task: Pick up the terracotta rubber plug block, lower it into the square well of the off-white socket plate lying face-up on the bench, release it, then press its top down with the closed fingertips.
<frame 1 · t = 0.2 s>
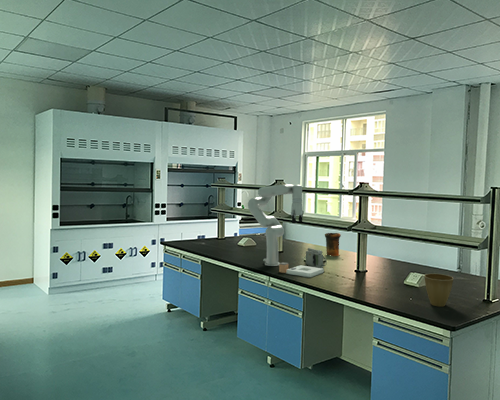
hand: (297, 222, 328), 36 cm above the worktop, tool pointing down, fingers open, 9 cm apart
socket plate: (305, 273, 314), on the worktop
vessel: (332, 255, 387), on the worktop
plug: (283, 271, 319), on the worktop
geiger counter: (316, 266, 338), on the worktop
plant pot: (438, 305, 236), on the worktop
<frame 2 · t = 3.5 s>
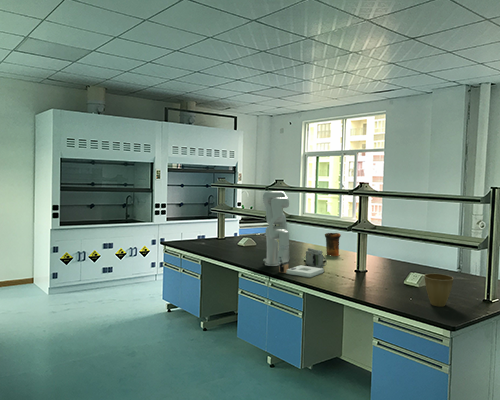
hand: (283, 270, 319), 1 cm above the worktop, tool pointing down, fingers closed on plug, 5 cm apart
plug: (283, 271, 319), on the worktop, touching gripper
everything else where it was.
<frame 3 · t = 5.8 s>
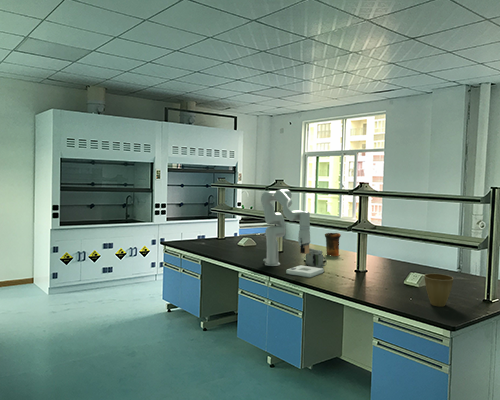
hand: (304, 252, 314), 16 cm above the worktop, tool pointing down, fingers closed on plug, 5 cm apart
plug: (304, 253, 314), point 15 cm above the worktop, touching gripper
everything else where it was.
when the fingers open (3 cm above the worktop, at t = 7.9 s): plug drops 2 cm, resting on socket plate.
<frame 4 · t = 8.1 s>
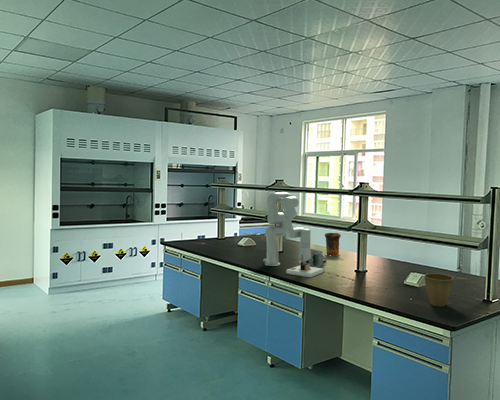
hand: (305, 268, 314), 3 cm above the worktop, tool pointing down, fingers open, 6 cm apart
plug: (305, 272, 315), point 1 cm above the worktop, touching socket plate
everything else where it was.
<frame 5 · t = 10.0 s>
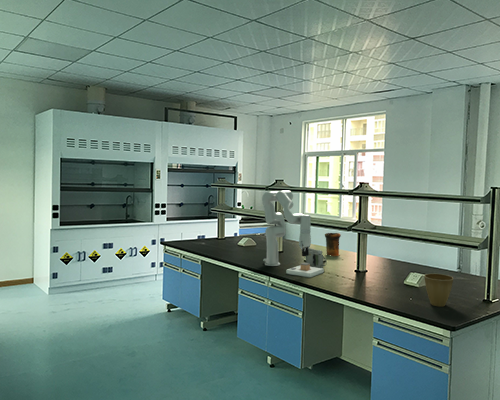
hand: (305, 255, 314), 13 cm above the worktop, tool pointing down, fingers open, 3 cm apart
nothing on the worktop moved.
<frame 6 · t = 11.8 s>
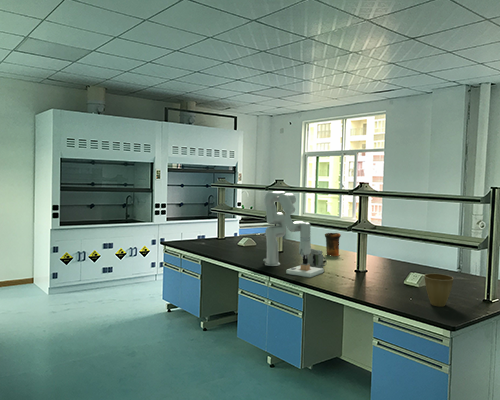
hand: (305, 263, 314), 7 cm above the worktop, tool pointing down, fingers closed
plug: (305, 272, 315), point 1 cm above the worktop, touching gripper, socket plate
everything else where it was.
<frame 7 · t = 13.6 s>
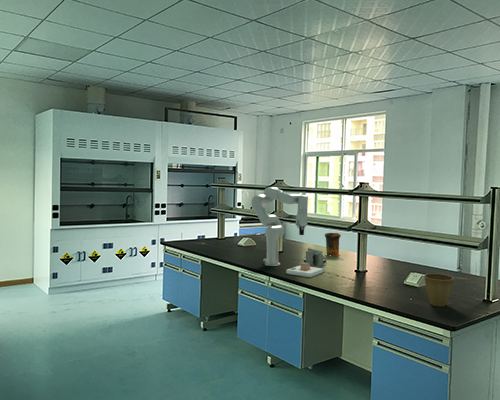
hand: (301, 234, 325), 27 cm above the worktop, tool pointing down, fingers closed
plug: (305, 272, 315), point 1 cm above the worktop, touching socket plate
everything else where it was.
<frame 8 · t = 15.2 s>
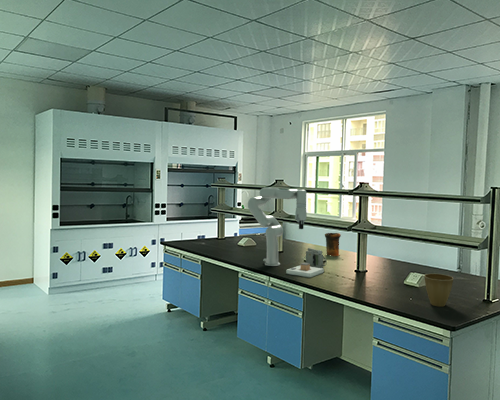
hand: (301, 229, 329), 31 cm above the worktop, tool pointing down, fingers closed
nothing on the worktop moved.
at the end: plug 0.1 cm off-centre on the socket plate, point 0.6 cm above the socket plate's base; plug tilted 0°; the gripper is holding nothing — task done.
